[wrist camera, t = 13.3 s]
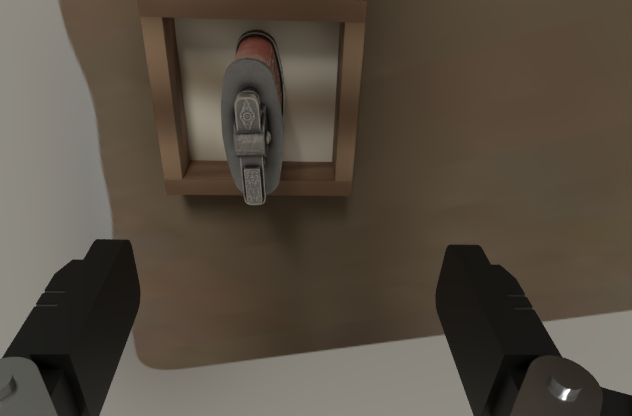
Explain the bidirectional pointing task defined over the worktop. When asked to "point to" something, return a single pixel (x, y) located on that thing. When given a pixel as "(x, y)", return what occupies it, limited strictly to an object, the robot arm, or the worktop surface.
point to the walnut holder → (299, 81)
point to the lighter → (254, 115)
